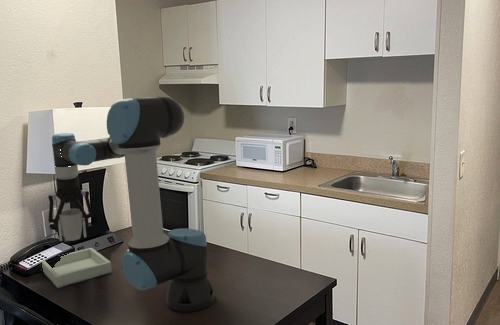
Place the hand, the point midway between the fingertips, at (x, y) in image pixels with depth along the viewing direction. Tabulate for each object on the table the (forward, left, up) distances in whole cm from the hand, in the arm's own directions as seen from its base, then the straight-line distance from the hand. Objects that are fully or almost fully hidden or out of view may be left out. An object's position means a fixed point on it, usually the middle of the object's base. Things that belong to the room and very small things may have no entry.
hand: (73, 237), depth 167 cm
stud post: (-9, -17, -13) cm, 23 cm away
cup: (0, 0, 0) cm, 0 cm away
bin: (0, 0, -13) cm, 13 cm away
